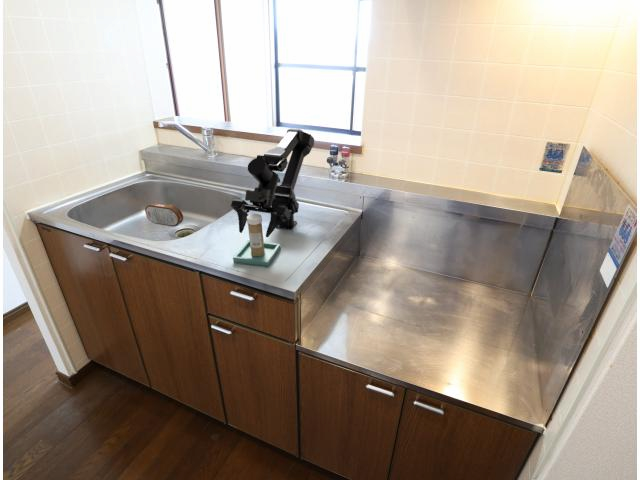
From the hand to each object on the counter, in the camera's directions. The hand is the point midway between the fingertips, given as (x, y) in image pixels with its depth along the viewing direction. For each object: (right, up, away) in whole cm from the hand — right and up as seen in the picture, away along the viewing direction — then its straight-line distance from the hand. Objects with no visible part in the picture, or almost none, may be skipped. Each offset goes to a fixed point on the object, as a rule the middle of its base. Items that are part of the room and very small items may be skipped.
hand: (253, 234), depth 116 cm
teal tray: (0, -7, +5) cm, 9 cm away
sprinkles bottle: (+1, -6, +5) cm, 8 cm away
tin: (-38, +4, +26) cm, 46 cm away
